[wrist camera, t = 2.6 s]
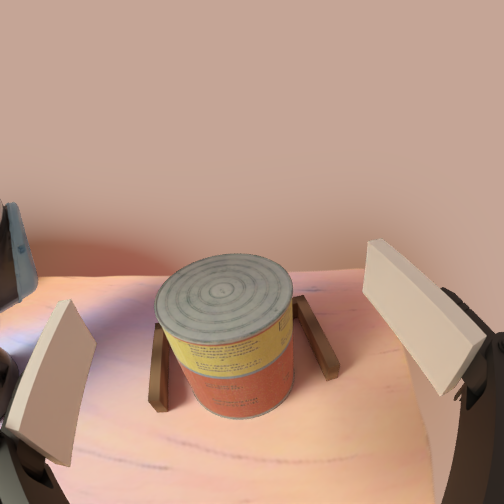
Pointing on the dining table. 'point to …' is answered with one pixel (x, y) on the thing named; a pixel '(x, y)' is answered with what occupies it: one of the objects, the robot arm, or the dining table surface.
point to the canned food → (231, 332)
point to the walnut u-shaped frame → (300, 310)
